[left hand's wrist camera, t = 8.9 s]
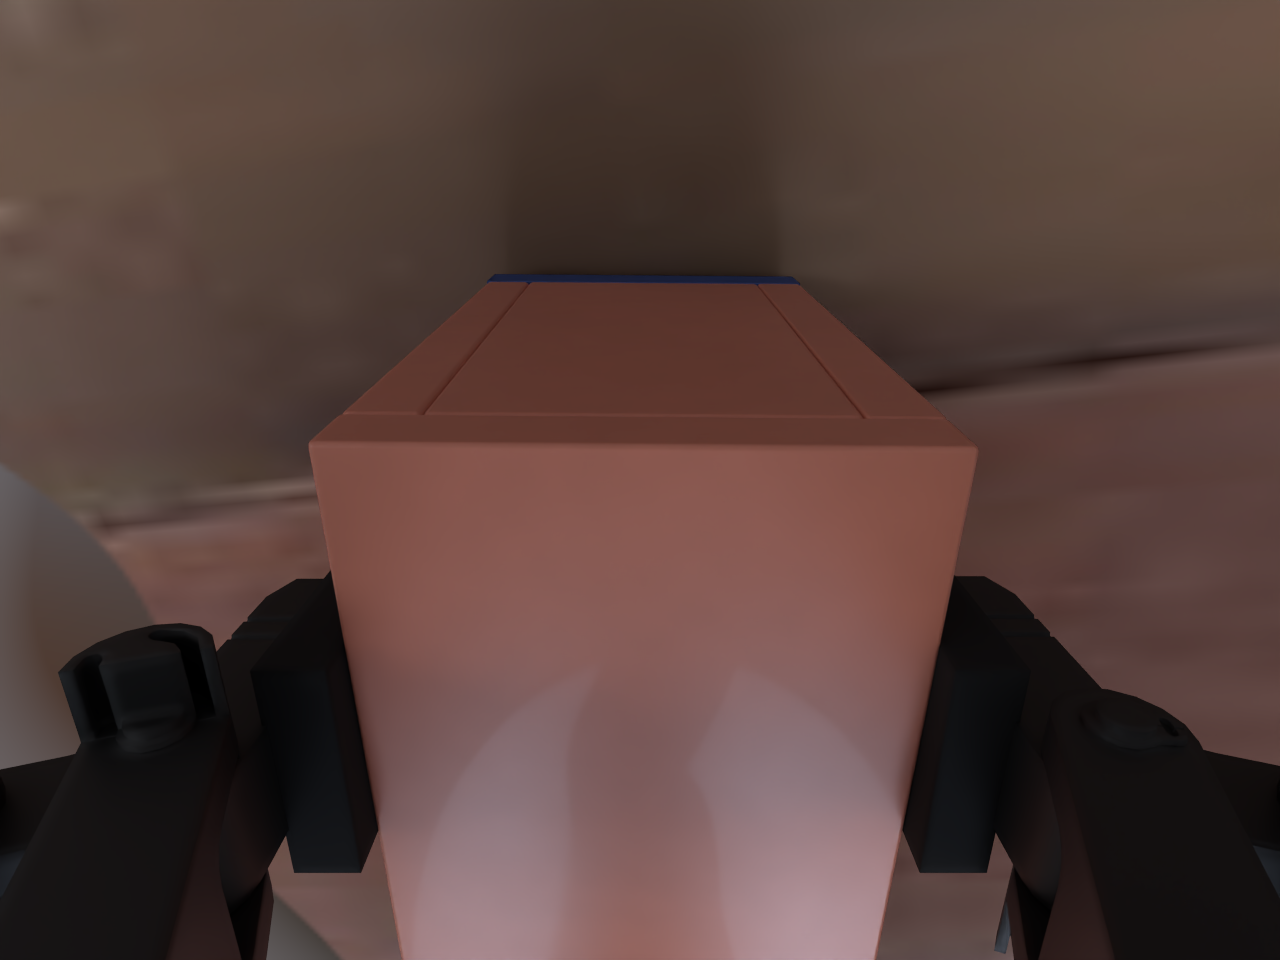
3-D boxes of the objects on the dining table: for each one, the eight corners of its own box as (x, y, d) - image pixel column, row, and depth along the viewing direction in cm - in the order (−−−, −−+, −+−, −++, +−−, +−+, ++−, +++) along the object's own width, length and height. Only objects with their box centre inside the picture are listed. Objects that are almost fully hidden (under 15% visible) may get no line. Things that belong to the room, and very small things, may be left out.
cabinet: (743, 834, 23) (811, 1292, 14) (533, 832, 23) (459, 1288, 14) (792, 276, 16) (983, 446, 7) (494, 274, 16) (302, 441, 7)
